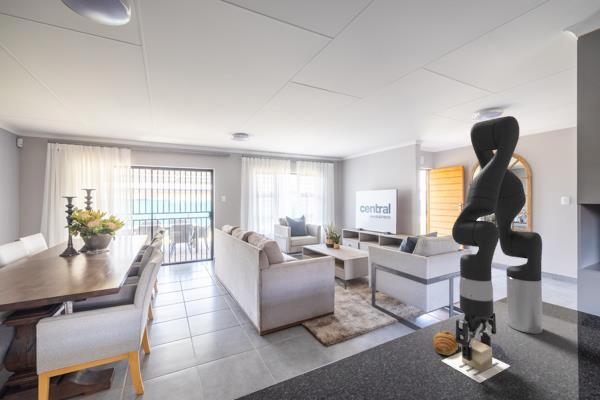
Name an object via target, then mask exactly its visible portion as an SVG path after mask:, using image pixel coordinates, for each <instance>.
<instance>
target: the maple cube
mask: <svg viewBox="0 0 600 400" xmlns="http://www.w3.org/2000/svg"><path fill="white" fill-rule="evenodd" d="M468 341H469V339H468ZM492 357H493V347H492V346H491V347H490V346H488V345H485V344H483V343H481V341H478V340H477V339H476V340H474V342H473V344H472V360H471V361H468V360H466V359H464V358H463V356H462V362H464V363H465V364H467V365H469V366H471V367H473V368H475V369H477V370H479V371H480V372H483V371H485V370H486V369H488V368H490V367H492Z"/></svg>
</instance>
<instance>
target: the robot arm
mask: <svg viewBox="0 0 600 400" xmlns="http://www.w3.org/2000/svg"><path fill="white" fill-rule="evenodd" d="M519 138H520V123H519V121H518V120H517V118H516V117H514V116H512V115H508V116H500V117H496V118H491V119H487V120H482V121H478V122H476V123H474V124H473V125H472V126H471V129H470V141H471V145H472V148H473V151H474V153H475V156H476V159H477V161H478V164H479V166H480V171H479V172H478V173H477V175H475V177H474V178H473V179H472V181H471V182H470V186H469V189H468V193H467V198H466V202H465V205H464V206H463V208H462V210H461V211H460V213H459V215H458V216H457V218H456V220H455V221H454V223H453V226H452V229H451V230H452V231H451V236H452V239H453V240H454V242H455V243H456V244H459V245H461V246H468V247H476V248H478V250H477V252H476V253H471V254H469V253H468V254H464V255H461V256H460V258H459V271H460V272H459V275H460V277H459V287H458V288H459V309H460V310H461V311H462V313H464V317H463V320H462V319H459V318H457V319H456V320H455V321H456V322H455V337H456V342H457V343H459V345H461V352H462V356H463V358H464V359H466V360H468V361H471V360H472V344H473V342H474V340H476V341H477V339H478V336H479V335H480V342H481V343H483V344H485V345H488V346H490V347H492V339H493V337H494V336H493V335H497V323H496V322H497V321H496V313H495V312H494V286H493V281H492V276H493V275H492V264H493V263H492V262H493V258H494V255H495V251H496V248H497V246H498V242H499V245H500V249H501V252H502V254H504V255H505V256H508V257H512V258H519V259H525V260H526V259H527V261H526V262H525V263H522V264H521V265H513V266H509V267H507V268H506V270H505V271H506V305H507V306H506V307H507V308H506V309H507V310H506V311H507V312H506V313H507V316H506V317H507V318H506V319H507V325H508V326H509V327H510V328H512V329H514V330H516V331H519V332H521V333H522V332H523V333H527V334H535V335H536V334H543V332H544V331H543V329H544V328H543V294H542V293H543V290H542V286H543V285H542V283H543V282H542V255H543V240H542V236H541V235H540V233H538V232H536V231H535V232H534V231H521V230H513V229H512V223H513V222H514V220H515V219H516V218H517V216H518V215H519V214H520V212H521V211H522V210H523V208H524V207H525V205H526V201H527V197H526V193H525V189H524V184H523V182H522V180H521V179H520V178H519V177H518V176H517V175H516V174H515V173H514V172H513V171H511V170H510V169H508V167H509V165H510V163H511V160H512V158H513V155H514V152H515V150H516V147H517V145H518V142H519ZM494 151H496V152H494ZM491 215H494V218H495V223H496V224H495V223H494V222H492V221H488V220H479V219H480V218H483V217H487V216H491ZM468 340H469V341H468Z"/></svg>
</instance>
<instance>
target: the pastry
mask: <svg viewBox="0 0 600 400" xmlns="http://www.w3.org/2000/svg"><path fill="white" fill-rule="evenodd" d="M432 342H433V343H432V344H433V348H434V350H435V352H436V353H437V354H441V355H444V356H448V357H451V356H452V355H454V354H457V351H458V350H459V345H460V344H459V343H457V342H456V335H455V334H453V332H451V331H447V330H444V331H438V332H437V333H436V334H435V335H434V336H433V340H432Z"/></svg>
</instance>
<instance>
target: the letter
mask: <svg viewBox="0 0 600 400" xmlns="http://www.w3.org/2000/svg"><path fill="white" fill-rule="evenodd" d="M440 361H441V362H442V363H443V364H445V365H448V366H449V367H451V368H453V369H454V370H456V371H458V372H460V373H461V374H462V375H464V376H467V377H468V378H470V379H472V380H474V381H475V382H477V383H479V384H481V383H482V382H485V381H486V380H488V379H490V378H492V377H494V376H495V375H497V374H499V373H500V372H503V371H505V370H507V369H509V368H510V367H511V365H509V364H508V363H505V362H503V361H501V360H499V359H497V358H495V357H493V356H492V367H490V368H488V369H486V370H485V371H483V372H480V371H479V370H477V369H475V368H473V367H471V366H469V365H467V364H465V363H464V362H462V351H460V352H458V353H454V354H452V355H450V356H448V357H446V358H444V359H442V360H440Z"/></svg>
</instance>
